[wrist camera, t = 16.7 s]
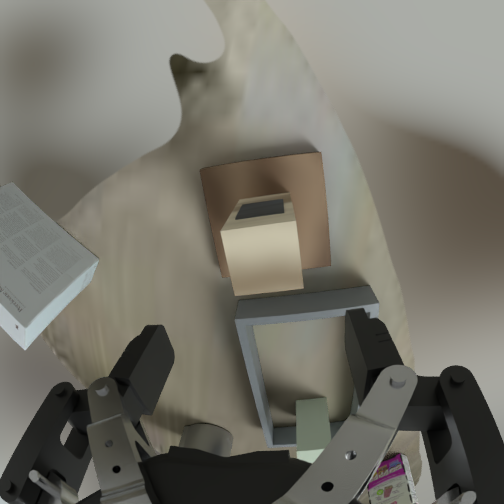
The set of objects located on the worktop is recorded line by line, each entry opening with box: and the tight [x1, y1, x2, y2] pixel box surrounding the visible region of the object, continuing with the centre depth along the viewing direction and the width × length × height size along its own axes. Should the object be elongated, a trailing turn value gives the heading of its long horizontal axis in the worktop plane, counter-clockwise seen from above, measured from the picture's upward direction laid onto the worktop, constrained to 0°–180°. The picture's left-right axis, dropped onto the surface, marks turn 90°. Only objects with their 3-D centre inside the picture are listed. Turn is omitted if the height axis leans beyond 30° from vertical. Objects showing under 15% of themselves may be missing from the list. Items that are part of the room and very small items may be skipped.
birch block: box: [220, 192, 304, 296], centre depth 24 cm, size 5×5×10 cm
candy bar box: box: [367, 453, 418, 504], centre depth 44 cm, size 11×5×16 cm, turn 137°
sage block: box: [296, 397, 331, 463], centre depth 37 cm, size 5×5×10 cm
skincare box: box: [0, 182, 99, 350], centre depth 26 cm, size 21×6×16 cm, turn 54°
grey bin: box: [235, 285, 379, 448], centre depth 37 cm, size 16×30×4 cm, turn 9°
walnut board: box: [200, 152, 331, 278], centre depth 29 cm, size 12×12×2 cm
